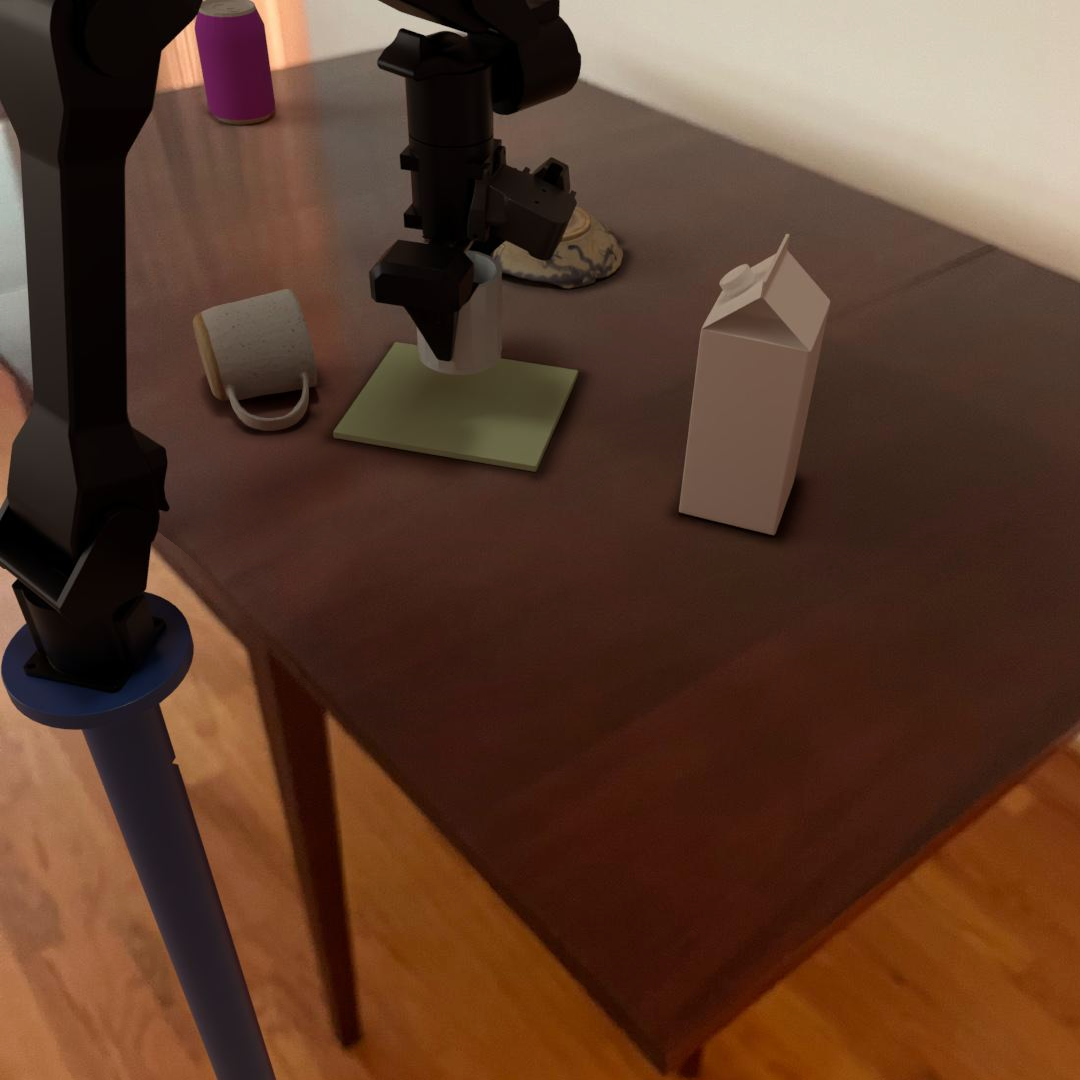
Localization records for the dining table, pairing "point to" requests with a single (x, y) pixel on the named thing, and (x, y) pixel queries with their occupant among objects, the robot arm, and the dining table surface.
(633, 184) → the dining table surface
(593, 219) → the decorative bowl
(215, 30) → the beverage can
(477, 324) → the container
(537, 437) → the mat
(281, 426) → the ceramic mug
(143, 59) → the robot arm
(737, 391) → the milk carton
